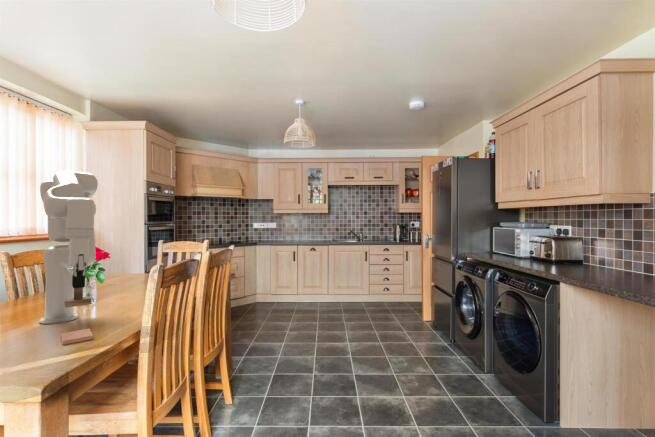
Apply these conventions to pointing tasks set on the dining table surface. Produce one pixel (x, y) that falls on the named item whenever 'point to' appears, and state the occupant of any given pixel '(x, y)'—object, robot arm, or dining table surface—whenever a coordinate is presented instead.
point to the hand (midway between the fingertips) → (78, 286)
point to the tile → (76, 336)
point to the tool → (77, 299)
